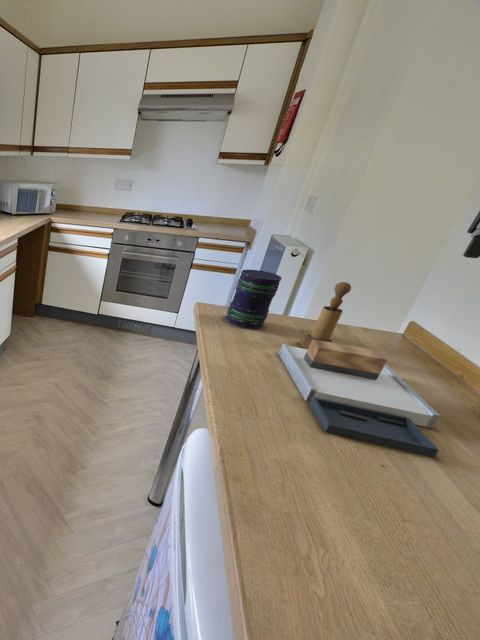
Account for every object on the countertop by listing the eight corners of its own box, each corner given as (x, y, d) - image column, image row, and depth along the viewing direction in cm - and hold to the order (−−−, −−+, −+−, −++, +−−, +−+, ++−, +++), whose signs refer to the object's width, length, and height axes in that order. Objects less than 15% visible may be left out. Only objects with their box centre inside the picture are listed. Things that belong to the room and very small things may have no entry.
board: (377, 372, 97) (383, 361, 96) (432, 428, 77) (440, 415, 76) (278, 353, 104) (282, 343, 103) (305, 400, 84) (311, 388, 83)
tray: (404, 424, 78) (408, 417, 77) (433, 457, 70) (438, 449, 69) (309, 403, 83) (312, 396, 83) (325, 431, 75) (329, 424, 74)
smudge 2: (406, 424, 76) (404, 426, 77) (403, 421, 77) (401, 423, 78) (379, 418, 78) (378, 420, 78) (376, 415, 79) (375, 417, 79)
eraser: (366, 370, 92) (377, 350, 90) (376, 380, 88) (387, 359, 86) (303, 358, 97) (312, 339, 94) (309, 367, 92) (319, 347, 90)
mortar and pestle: (306, 351, 106) (336, 284, 98) (295, 341, 112) (322, 277, 104) (336, 355, 105) (369, 288, 97) (322, 344, 110) (352, 280, 103)
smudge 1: (364, 418, 78) (366, 416, 78) (366, 421, 77) (367, 419, 77) (338, 411, 80) (339, 409, 80) (340, 414, 79) (341, 412, 79)
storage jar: (240, 315, 128) (256, 268, 122) (270, 327, 120) (290, 278, 114) (217, 318, 125) (233, 270, 118) (247, 331, 117) (266, 280, 110)
